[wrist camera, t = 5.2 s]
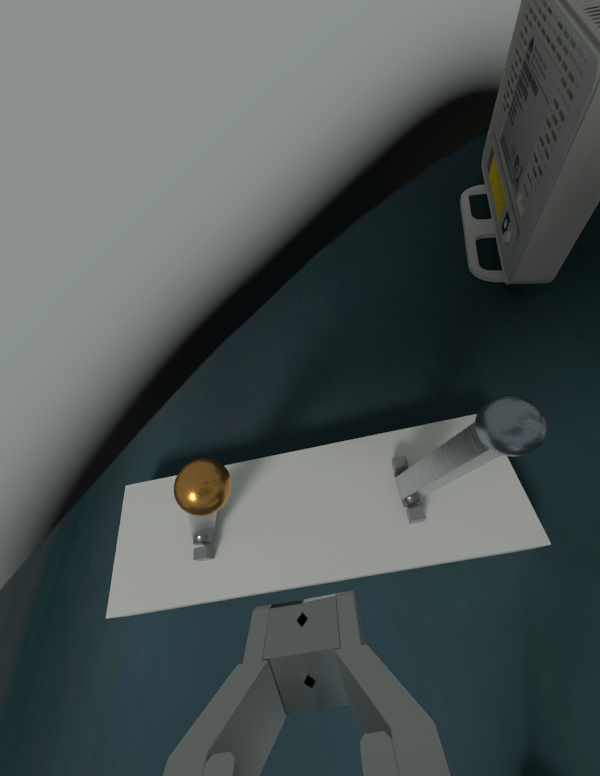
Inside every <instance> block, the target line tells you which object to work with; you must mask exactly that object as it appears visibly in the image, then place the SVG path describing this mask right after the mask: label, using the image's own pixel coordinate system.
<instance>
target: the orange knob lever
mask: <svg viewBox="0 0 600 776" xmlns="http://www.w3.org/2000/svg"><path fill="white" fill-rule="evenodd" d="M231 489H232V480H231V476H230V474H229V472H228V470H227V469H226V467H225V466H224V465H223V464H221V463H220V462H218V461H216V460H214V459H210V458H200V459H196V460H193V461H191V462H190V463H188V464H187V465H185V466H184V467H183V468H182V469H181V470H180V472H179V473H178V475H177V477H176V479H175V483H174V497H175V500H176V502H177V504H178V505H179V507H180V508H181V509H182V510H183V511H185V512H186V513H188V514H189V522H190V530H191V538H192V539H193V545H205V544H209V543H212V537H213V535H214V529H215V522H216V516H217V511H218V510H220V509H221V508H222V507H223V506H224V505H225V504H226V502H227V501H228V499H229V496H230V494H231Z"/></svg>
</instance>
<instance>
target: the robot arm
mask: <svg viewBox="0 0 600 776" xmlns="http://www.w3.org/2000/svg"><path fill="white" fill-rule="evenodd" d="M344 705H350V708H351V710H352V711H353V713H354V714H355V716H356V718H357V719H358V721H359V723H360V724H361V726H362V728H363V729H364V731H365V733H366V734H364V736H363V738H362V739H361V741H360V748H361V757H362V767H363V776H450V772H449V769H448V766H447V763H446V759H445V756H444V753H443V749H442V746H441V743H440V739H439V736H438V733H437V729H436V726H435V723H434V722H433V720H432V719H431V718H430V717H429V716H428V715H427V713H426V712H425V711H424V710H423V709H422V708H421V706H420V705H419V704H418V703H417V702H416V701H415V700H414V698H413V697H412V696H411V695H410V694H409V693H408V691H407V690H406V689H405V688H404V687H403V686H402V684H401V683H400V682H399V681H398V680H397V679H396V678H395V676H394V675H393V674H392V673H391V672H390V671H389V669H388V668H387V667H386V666H385V665H384V664H383V662H382V661H381V660H380V659H379V658H378V657H377V656H376V654H375V653H374V652H373V651H372V650H371V649H370V647H369V646H368V645H366V643H365V638H364V633H363V629H362V624H361V620H360V615H359V611H358V607H357V603H356V599H355V594H354V591H348V592H343V593H337V594H332V595H327V596H321V597H316V598H310V599H305V600H300V601H293V602H286V603H279V604H272V605H268V606H261V607H255V609H254V611H253V613H252V618H251V624H250V629H249V634H248V639H247V644H246V649H245V654H244V660H243V664H239V665H237V666H236V668H235V669H234V670H233V672H232V673H231V674H230V676H229V677H228V678H227V680H226V681H225V682H224V684H223V685H222V686H221V688H220V689H219V690H218V692H217V693H216V694H215V696H214V697H213V698H212V700H211V701H210V703H209V704H208V705H207V707H206V708H205V709H204V711H203V712H202V713H201V715H200V716H199V717H198V719H197V720H196V721H195V723H194V724H193V725H192V727H191V728H190V729H189V731H188V732H187V733H186V735H185V736H184V737H183V739H182V740H181V741H180V743H179V744H178V746H177V747H176V748H175V750H174V751H173V752H172V754H171V755H170V756H169V758H168V761H167V764H166V767H165V770H164V773H163V776H259V775H260V773H261V771H262V769H263V766H264V764H265V762H266V760H267V758H268V755H269V753H270V751H271V749H272V747H273V745H274V742H275V740H276V738H277V736H278V734H279V731H280V729H281V727H282V725H283V723H284V720H285V718H286V714H289V713H294V712H300V711H305V710H311V709H316V708H325V707H335V706H344Z"/></svg>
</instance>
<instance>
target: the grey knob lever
mask: <svg viewBox="0 0 600 776" xmlns="http://www.w3.org/2000/svg"><path fill="white" fill-rule="evenodd" d="M546 433H547V422H546V419H545V416H544V414H543V413H542V411H541V410H540V409H539V408H538V407H537V406H536V405H535V404H534V403H532V402H531V401H529V400H527V399H525V398H522V397H518V396H512V395H506V396H499V397H496V398H493V399H491V400H489V401H488V402H486V403H485V404H484V405H483V406H482V407H481V408H480V410H479V411H478V413H477V416H476V419H475V422H474V423H472V424H471V425H469V426H468V427H467V428H465V429H464V430H462V431H461V432H460V433H458V434H457V435H455V436H454V437H452V438H451V439H450V440H448V441H447V442H445V443H444V444H443V445H441V446H440V447H438V448H437V449H435V450H434V451H433V452H431V453H430V454H428V455H427V456H426V457H424V458H423V459H421V460H420V461H419V462H417V463H416V464H414V465H413V466H411V467H410V468H409V469H403V470H400V471H397V472H395V473H394V477H395V480H396V484H397V487H398V490H399V494H400V497H401V500H402V504H403V507H413V506H417V505H420V504H422V503H423V501H422V497H424V496H426V495H428V494H430V493H431V492H433V491H435V490H437V489H439V488H441V487H443V486H445V485H447V484H448V483H450V482H452V481H454V480H456V479H458V478H460V477H462V476H463V475H465V474H467V473H469V472H471V471H473V470H475V469H477V468H478V467H480V466H482V465H484V464H486V463H488V462H490V461H492V460H493V459H495V458H497V457H499V456H501V455H504V456H512V457H515V456H522V455H526V454H529V453H531V452H533V451H534V450H536V449H537V448H538V447H539V446H540V445H541V444H542V443H543V441H544V439H545V437H546Z"/></svg>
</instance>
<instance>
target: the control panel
mask: <svg viewBox="0 0 600 776" xmlns="http://www.w3.org/2000/svg"><path fill="white" fill-rule="evenodd" d="M476 416H477V414H474V415H469V416H464V417H460V418H455V419H450V420H445V421H440V422H435V423H430V424H425V425H420V426H416V427H411V428H406V429H401V430H396V431H391V432H386V433H381V434H376V435H371V436H367V437H362V438H357V439H352V440H347V441H342V442H337V443H332V444H327V445H323V446H318V447H313V448H308V449H303V450H298V451H293V452H288V453H283V454H278V455H274V456H269V457H264V458H259V459H254V460H249V461H244V462H239V463H234V464H230V465H225V467H226V469H227V470H228V472H229V474H230V476H231V480H232V489H231V494H230V496H229V499H228V501H227V502H226V504H225V505H224V506H223V507H222V508H221V509H220V510H218V511H217V516H216V522H215V529H214V535H213V537H212V543H209V544H205V545H193V539H192V538H191V530H190V522H189V514H188V513H186V512H185V511H183V510H182V509H181V508H180V507H179V505H178V504H177V502H176V500H175V497H174V483H175V479H176V477H177V475H176V476H171V477H166V478H161V479H156V480H151V481H146V482H141V483H137V484H132V485H127V486H126V487H125V494H124V500H123V507H122V514H121V521H120V527H119V534H118V541H117V547H116V554H115V561H114V567H113V574H112V581H111V588H110V594H109V601H108V608H107V614H106V619H107V618H115V617H124V616H132V615H138V614H144V613H150V612H156V611H162V610H168V609H174V608H180V607H186V606H192V605H198V604H204V603H210V602H216V601H222V600H228V599H234V598H240V597H246V596H252V595H258V594H264V593H270V592H276V591H282V590H288V589H294V588H300V587H306V586H312V585H318V584H324V583H330V582H336V581H342V580H348V579H354V578H360V577H366V576H372V575H378V574H384V573H390V572H396V571H402V570H408V569H414V568H420V567H426V566H432V565H438V564H444V563H450V562H456V561H462V560H468V559H474V558H480V557H486V556H492V555H498V554H504V553H510V552H516V551H522V550H528V549H534V548H538V547H542V546H546V545H551V543H550V541H549V539H548V537H547V535H546V533H545V531H544V529H543V527H542V525H541V523H540V521H539V519H538V517H537V515H536V513H535V511H534V509H533V507H532V505H531V503H530V501H529V499H528V497H527V495H526V493H525V491H524V489H523V487H522V485H521V483H520V481H519V479H518V477H517V475H516V473H515V471H514V469H513V467H512V465H511V463H510V461H509V459H508V457H507V456H504V455H501V456H499V457H497V458H495V459H493V460H492V461H490V462H488V463H486V464H484V465H482V466H480V467H478V468H477V469H475V470H473V471H471V472H469V473H467V474H465V475H463V476H462V477H460V478H458V479H456V480H454V481H452V482H450V483H448V484H447V485H445V486H443V487H441V488H439V489H437V490H435V491H433V492H431V493H430V494H428V495H426V496H424V497H422V501H423V503H422V504H420V505H417V506H413V507H403V504H402V500H401V497H400V494H399V490H398V487H397V484H396V480H395V477H394V473H395V472H397V471H400V470H403V469H409V468H410V467H411V466H413V465H414V464H416V463H417V462H419V461H420V460H421V459H423V458H424V457H426V456H427V455H428V454H430V453H431V452H433V451H434V450H435V449H437V448H438V447H440V446H441V445H443V444H444V443H445V442H447V441H448V440H450V439H451V438H452V437H454V436H455V435H457V434H458V433H460V432H461V431H462V430H464V429H465V428H467V427H468V426H469V425H471V424H472V423H474V422H475V419H476Z"/></svg>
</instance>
